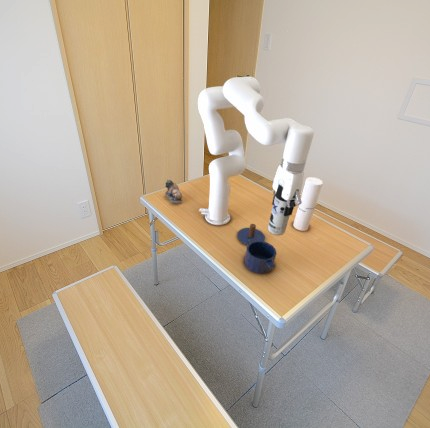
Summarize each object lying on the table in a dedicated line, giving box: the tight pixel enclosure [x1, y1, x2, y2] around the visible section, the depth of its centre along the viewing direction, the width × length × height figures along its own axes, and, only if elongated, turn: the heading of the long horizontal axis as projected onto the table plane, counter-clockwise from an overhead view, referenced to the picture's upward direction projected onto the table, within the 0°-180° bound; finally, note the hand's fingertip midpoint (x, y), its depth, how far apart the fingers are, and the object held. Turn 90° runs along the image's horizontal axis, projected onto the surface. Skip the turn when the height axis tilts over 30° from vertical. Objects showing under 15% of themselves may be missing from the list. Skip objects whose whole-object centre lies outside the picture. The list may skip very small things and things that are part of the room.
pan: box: [244, 238, 277, 274], centre depth 112 cm, size 12×17×7 cm
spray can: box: [267, 185, 294, 236], centre depth 101 cm, size 7×7×20 cm
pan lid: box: [236, 223, 266, 246], centre depth 125 cm, size 13×13×7 cm
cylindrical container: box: [292, 176, 324, 232], centre depth 129 cm, size 7×7×25 cm
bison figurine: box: [164, 179, 183, 204], centre depth 147 cm, size 12×7×10 cm, turn 37°
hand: (281, 209), depth 101 cm, fingers closed on spray can, 6 cm apart
